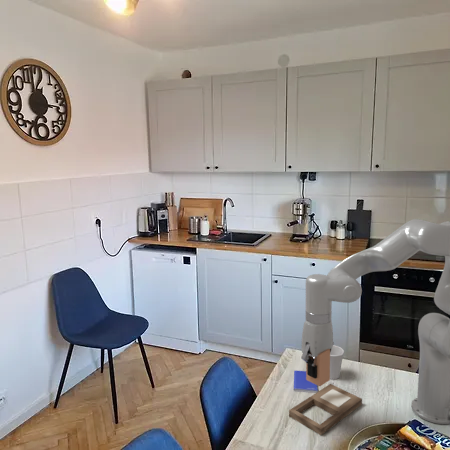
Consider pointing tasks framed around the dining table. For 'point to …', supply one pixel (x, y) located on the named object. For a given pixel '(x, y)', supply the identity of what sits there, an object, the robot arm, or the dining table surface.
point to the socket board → (326, 407)
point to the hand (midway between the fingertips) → (318, 372)
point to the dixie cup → (335, 361)
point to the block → (321, 369)
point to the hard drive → (303, 383)
